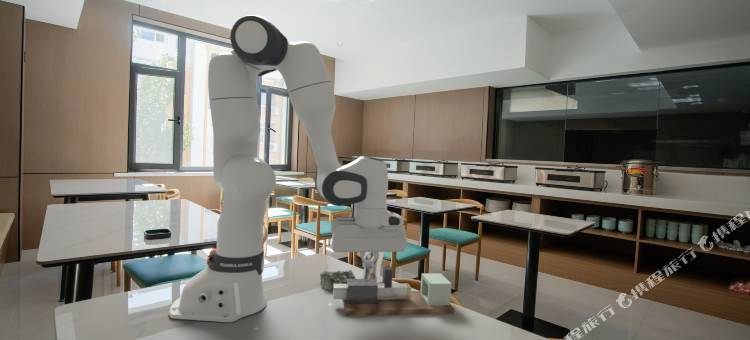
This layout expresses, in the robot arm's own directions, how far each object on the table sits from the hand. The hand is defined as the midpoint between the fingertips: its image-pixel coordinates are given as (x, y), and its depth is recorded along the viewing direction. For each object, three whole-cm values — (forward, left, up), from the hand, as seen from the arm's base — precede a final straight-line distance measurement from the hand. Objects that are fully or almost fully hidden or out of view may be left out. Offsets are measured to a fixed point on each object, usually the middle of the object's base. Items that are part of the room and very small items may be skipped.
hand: (368, 267), depth 98 cm
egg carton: (-7, +16, -11) cm, 20 cm away
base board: (+8, 0, -11) cm, 14 cm away
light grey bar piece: (+1, 0, -8) cm, 8 cm away
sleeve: (-2, 0, -9) cm, 9 cm away
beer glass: (+4, +18, -11) cm, 21 cm away
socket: (+19, 0, -11) cm, 22 cm away
